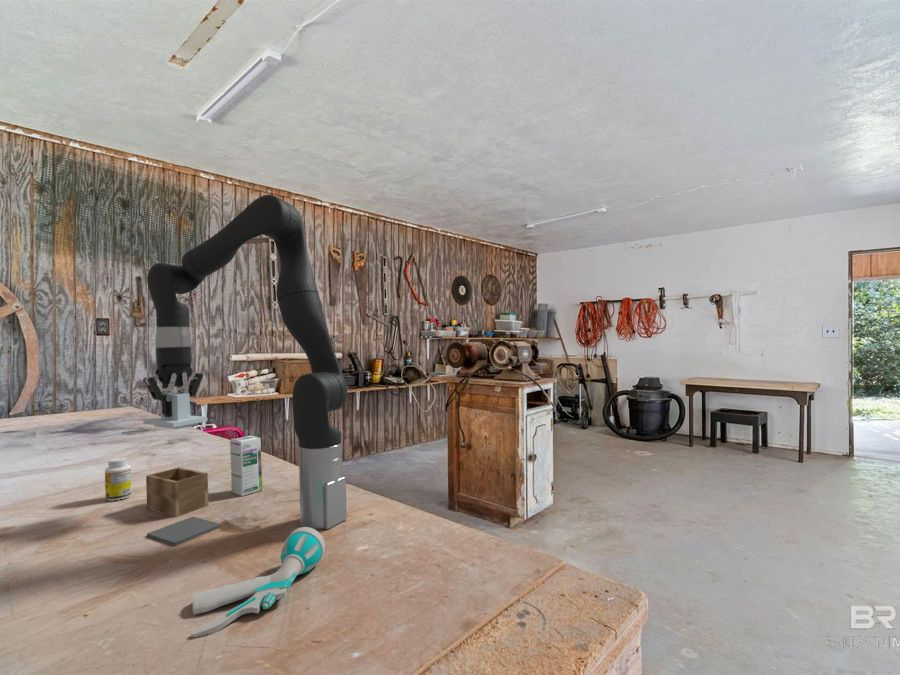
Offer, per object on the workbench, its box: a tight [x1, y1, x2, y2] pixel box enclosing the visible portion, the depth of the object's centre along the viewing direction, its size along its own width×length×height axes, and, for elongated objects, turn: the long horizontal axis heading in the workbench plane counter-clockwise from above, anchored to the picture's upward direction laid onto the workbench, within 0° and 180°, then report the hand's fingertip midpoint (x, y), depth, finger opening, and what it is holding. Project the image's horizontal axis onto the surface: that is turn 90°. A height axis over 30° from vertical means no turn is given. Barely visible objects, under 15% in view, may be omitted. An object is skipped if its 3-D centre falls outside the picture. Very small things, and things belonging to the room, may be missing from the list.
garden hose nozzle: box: [190, 526, 326, 638], centre depth 74 cm, size 7×18×20 cm
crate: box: [145, 467, 209, 517], centre depth 112 cm, size 12×8×8 cm, turn 62°
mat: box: [146, 516, 222, 546], centre depth 97 cm, size 10×10×1 cm
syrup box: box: [229, 435, 263, 497], centre depth 122 cm, size 6×6×14 cm
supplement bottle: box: [104, 457, 133, 502], centre depth 119 cm, size 6×6×10 cm
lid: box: [142, 392, 209, 430], centre depth 112 cm, size 12×8×8 cm
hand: (175, 415), depth 112 cm, fingers closed on lid, 3 cm apart
